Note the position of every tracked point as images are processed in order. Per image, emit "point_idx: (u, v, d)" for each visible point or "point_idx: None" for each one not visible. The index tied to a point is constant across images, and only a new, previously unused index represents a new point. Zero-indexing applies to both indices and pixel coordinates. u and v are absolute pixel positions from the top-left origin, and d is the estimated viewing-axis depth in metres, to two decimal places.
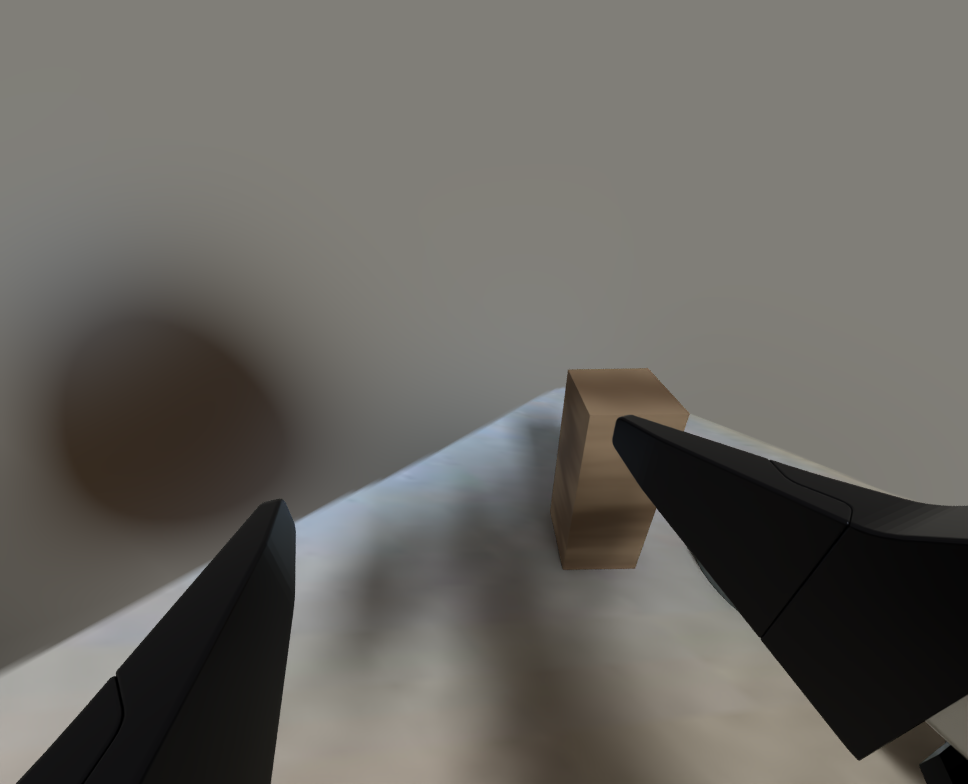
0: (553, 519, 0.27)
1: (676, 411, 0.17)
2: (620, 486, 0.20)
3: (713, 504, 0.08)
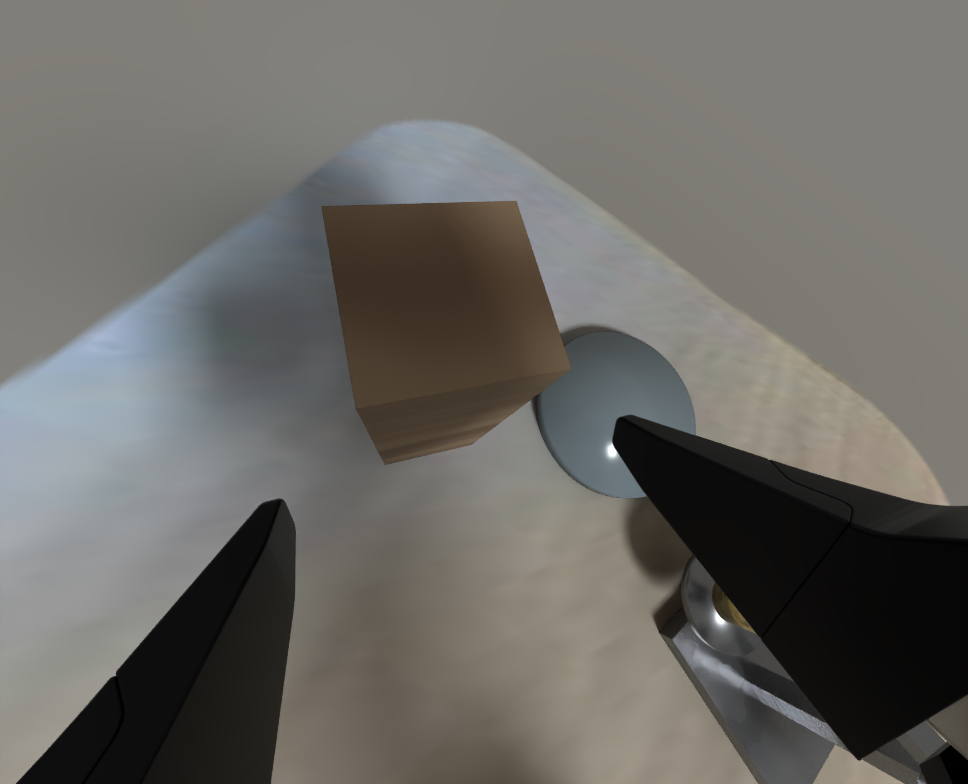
0: None
1: (548, 364, 0.08)
2: (446, 428, 0.12)
3: (713, 504, 0.08)
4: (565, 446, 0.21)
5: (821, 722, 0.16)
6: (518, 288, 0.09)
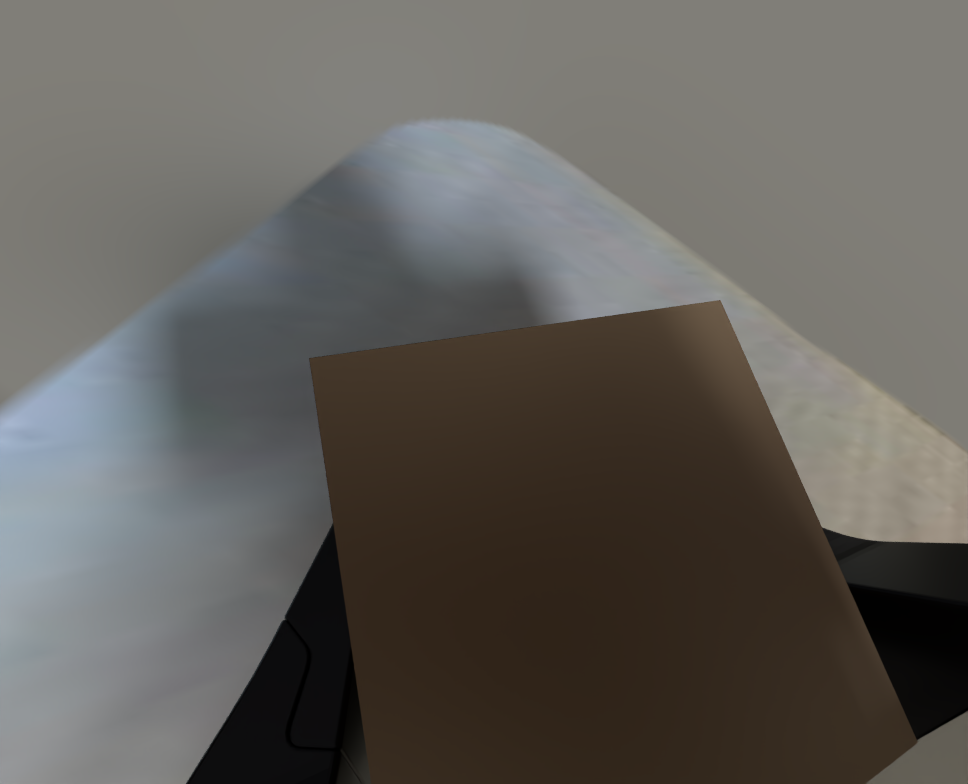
0: None
1: (871, 741, 0.03)
2: None
3: None
4: None
5: None
6: (767, 525, 0.04)
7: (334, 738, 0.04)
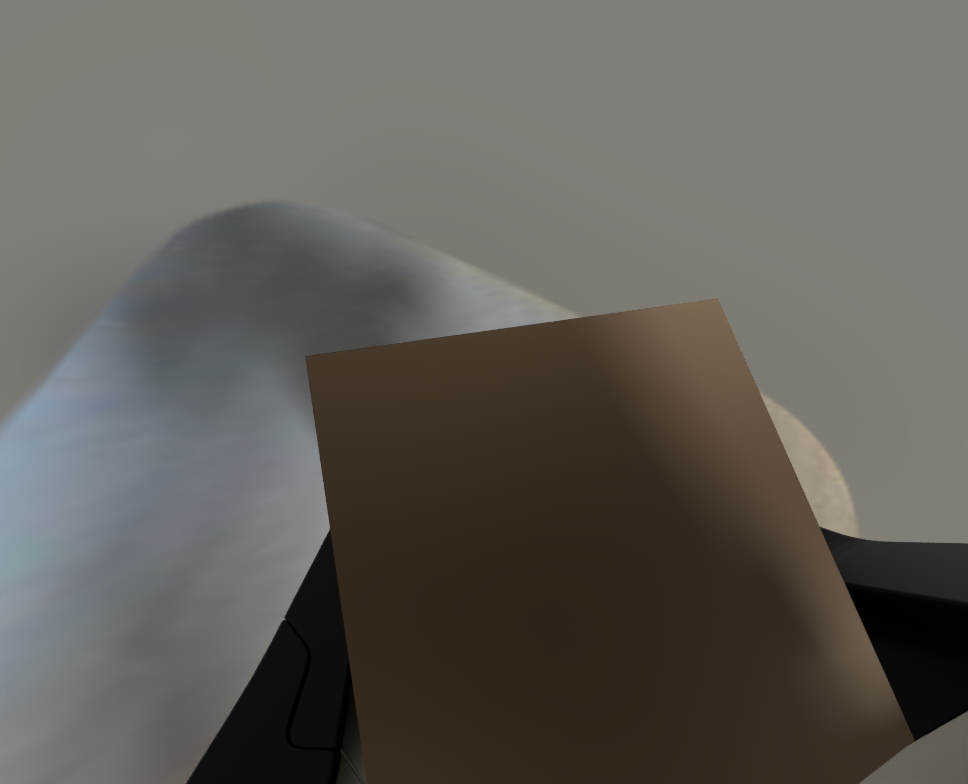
0: None
1: (867, 739, 0.03)
2: None
3: None
4: None
5: None
6: (764, 523, 0.04)
7: (334, 738, 0.04)
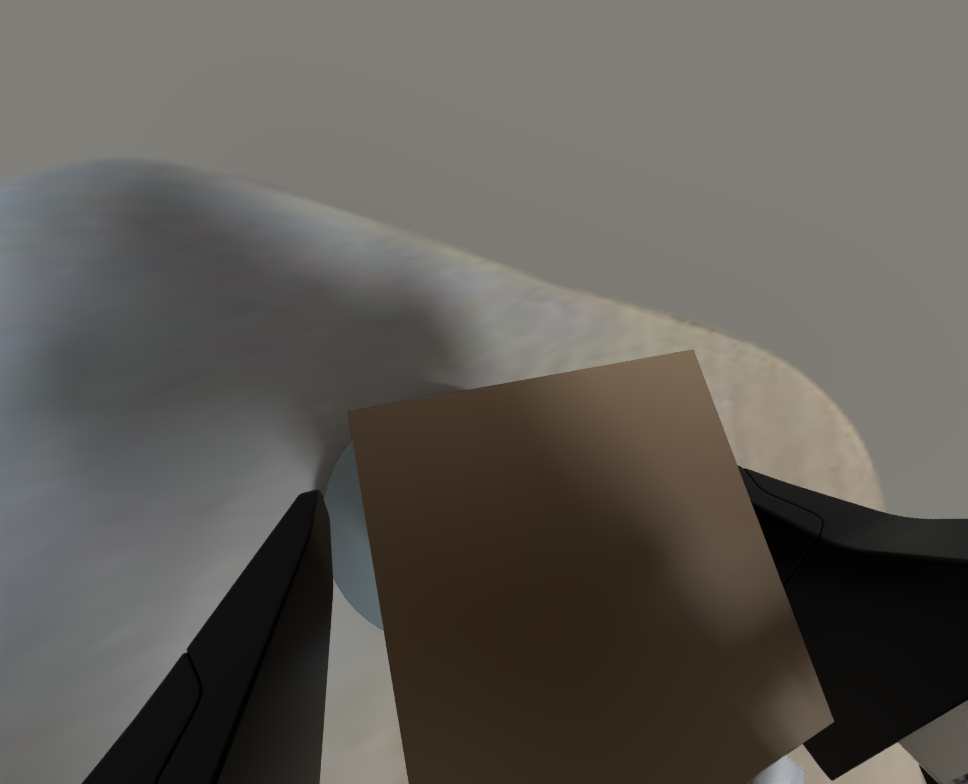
0: None
1: (795, 721, 0.04)
2: None
3: None
4: (375, 604, 0.15)
5: None
6: (722, 546, 0.05)
7: None
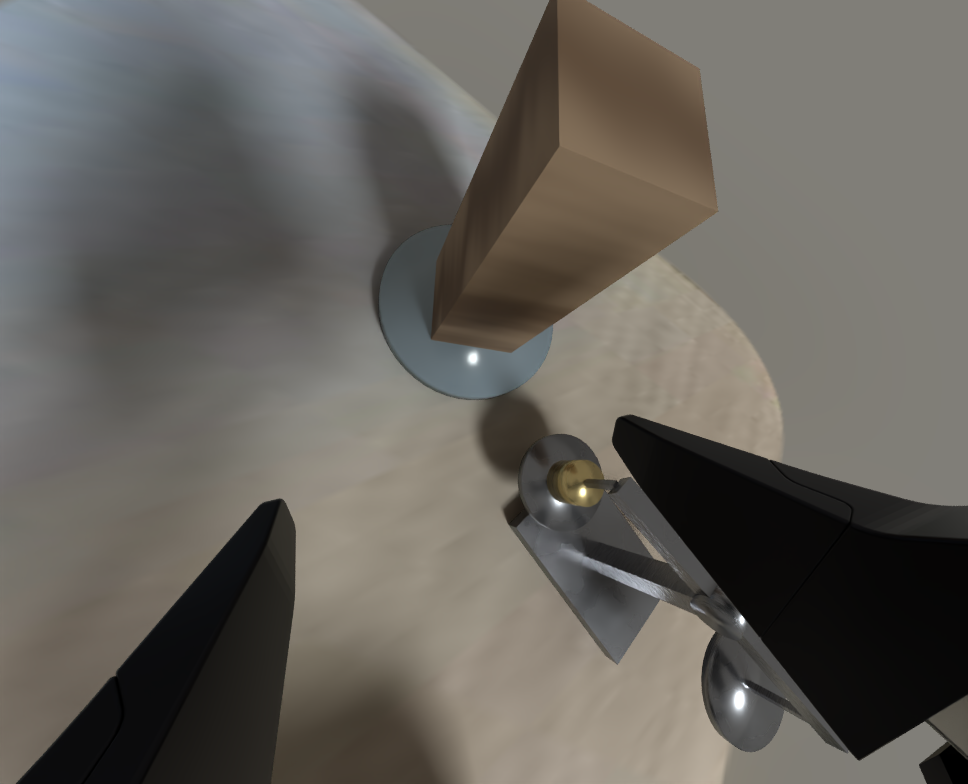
0: (437, 274, 0.20)
1: (702, 198, 0.09)
2: (542, 280, 0.13)
3: (713, 504, 0.08)
4: (406, 345, 0.19)
5: (633, 576, 0.17)
6: (690, 132, 0.10)
7: None
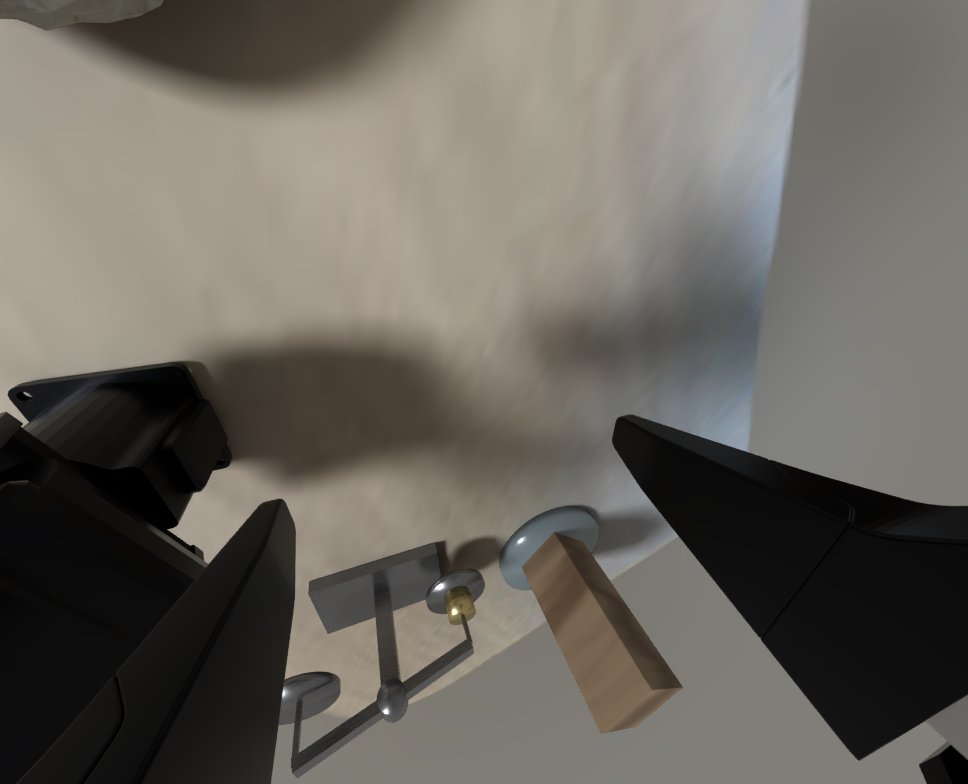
0: (579, 543, 0.35)
1: (608, 728, 0.24)
2: (583, 634, 0.27)
3: (713, 504, 0.08)
4: (559, 521, 0.33)
5: (392, 631, 0.26)
6: (625, 724, 0.25)
7: None
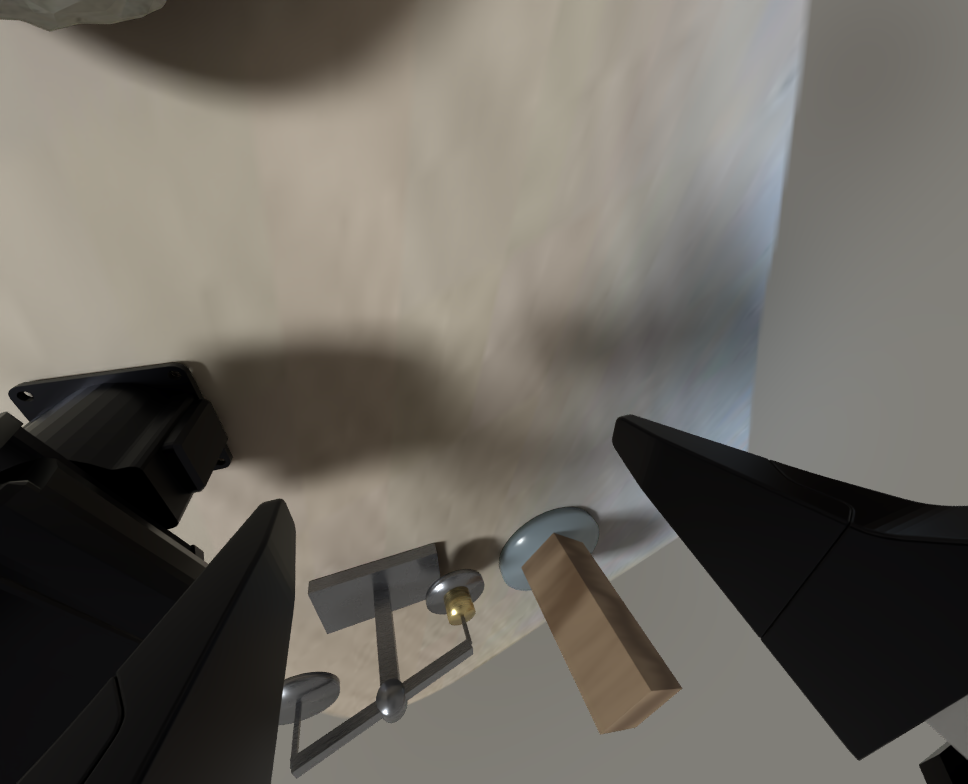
0: (578, 544, 0.35)
1: (607, 729, 0.24)
2: (583, 635, 0.27)
3: (713, 504, 0.08)
4: (558, 521, 0.33)
5: (391, 631, 0.26)
6: (624, 725, 0.25)
7: None
